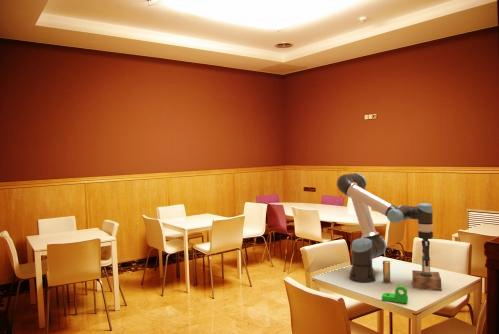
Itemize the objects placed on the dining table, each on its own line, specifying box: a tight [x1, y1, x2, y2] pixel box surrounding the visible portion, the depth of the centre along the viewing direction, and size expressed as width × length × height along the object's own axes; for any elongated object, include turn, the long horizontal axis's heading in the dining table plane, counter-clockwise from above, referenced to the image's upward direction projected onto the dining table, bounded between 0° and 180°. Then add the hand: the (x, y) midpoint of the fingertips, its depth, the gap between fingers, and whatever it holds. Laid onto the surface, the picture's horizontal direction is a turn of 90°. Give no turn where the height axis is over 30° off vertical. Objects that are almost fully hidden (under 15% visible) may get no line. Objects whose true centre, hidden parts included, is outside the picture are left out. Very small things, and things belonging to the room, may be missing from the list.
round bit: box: [382, 260, 392, 284], centre depth 224 cm, size 4×4×12 cm
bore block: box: [411, 269, 442, 292], centre depth 216 cm, size 14×14×6 cm
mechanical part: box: [381, 285, 409, 304], centre depth 197 cm, size 12×6×8 cm, turn 64°
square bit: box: [421, 255, 431, 277], centre depth 216 cm, size 4×4×15 cm
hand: (426, 268), depth 216 cm, fingers open, 13 cm apart
